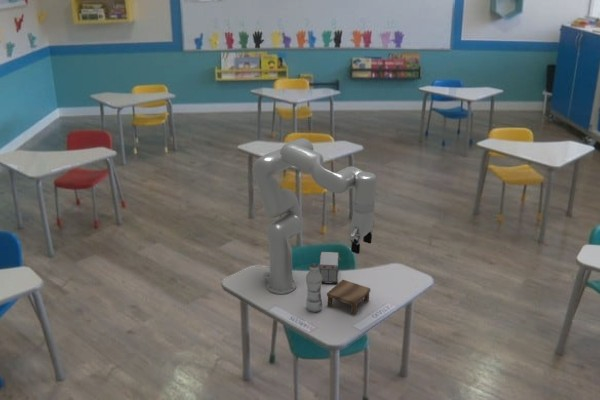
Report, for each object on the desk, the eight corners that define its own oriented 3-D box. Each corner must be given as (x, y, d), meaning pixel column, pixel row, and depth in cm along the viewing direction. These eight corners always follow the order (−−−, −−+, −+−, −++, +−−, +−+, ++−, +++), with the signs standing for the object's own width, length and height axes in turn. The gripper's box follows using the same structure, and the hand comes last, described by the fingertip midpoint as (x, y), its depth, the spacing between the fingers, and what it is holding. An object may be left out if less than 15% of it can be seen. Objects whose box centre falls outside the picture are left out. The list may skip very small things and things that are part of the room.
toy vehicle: (340, 266, 264) (340, 247, 260) (339, 285, 248) (339, 265, 244) (319, 265, 265) (319, 246, 261) (317, 284, 249) (317, 264, 245)
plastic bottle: (312, 315, 226) (313, 271, 219) (302, 308, 231) (302, 264, 224) (325, 310, 230) (326, 266, 222) (315, 303, 235) (315, 260, 227)
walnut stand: (326, 305, 233) (326, 293, 231) (342, 291, 243) (342, 279, 241) (354, 315, 226) (355, 302, 224) (369, 300, 236) (370, 288, 234)
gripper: (365, 195, 216) (362, 236, 222) (343, 211, 202) (341, 253, 209) (383, 200, 212) (380, 241, 219) (362, 216, 199) (359, 259, 205)
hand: (361, 247), depth 214 cm, fingers open, 9 cm apart
